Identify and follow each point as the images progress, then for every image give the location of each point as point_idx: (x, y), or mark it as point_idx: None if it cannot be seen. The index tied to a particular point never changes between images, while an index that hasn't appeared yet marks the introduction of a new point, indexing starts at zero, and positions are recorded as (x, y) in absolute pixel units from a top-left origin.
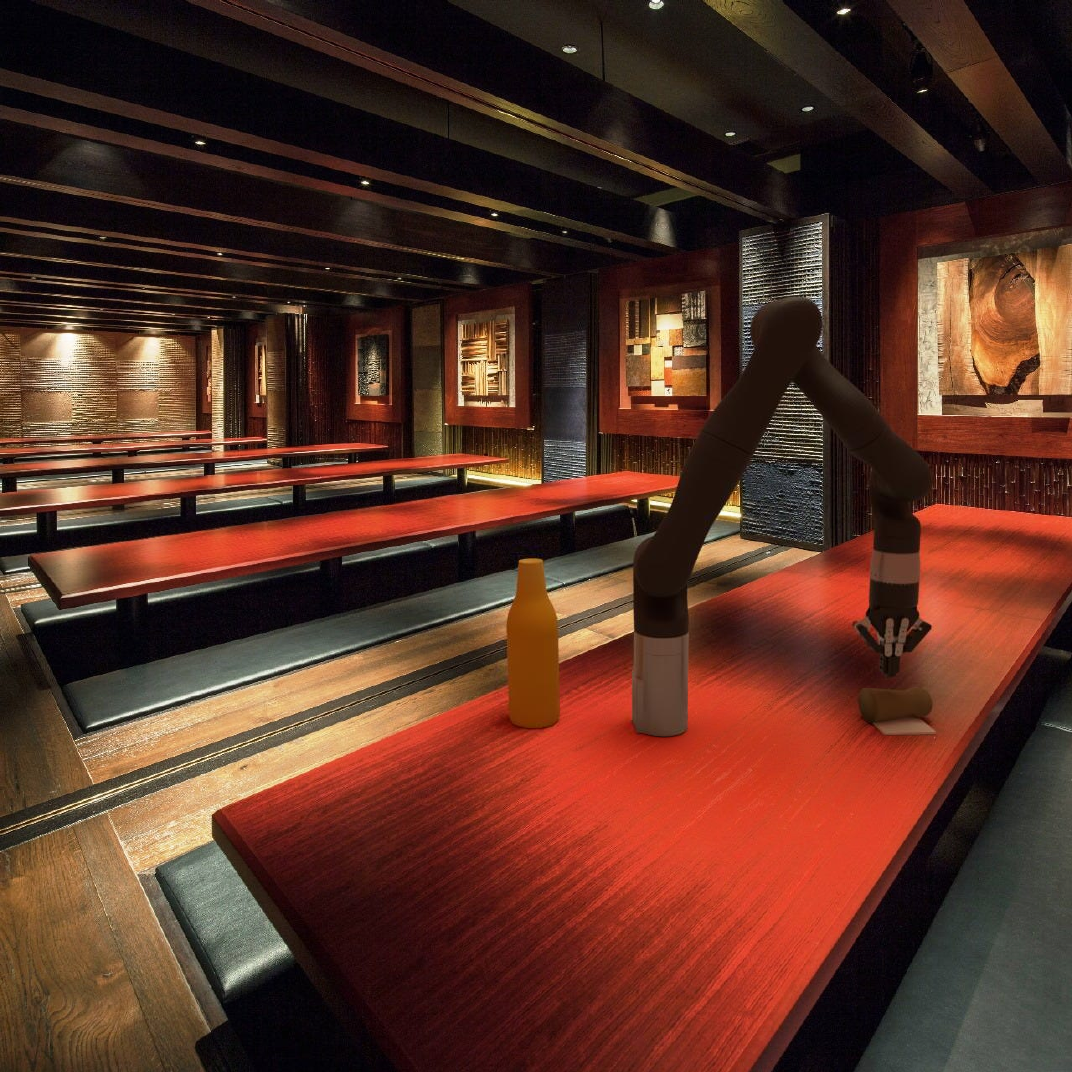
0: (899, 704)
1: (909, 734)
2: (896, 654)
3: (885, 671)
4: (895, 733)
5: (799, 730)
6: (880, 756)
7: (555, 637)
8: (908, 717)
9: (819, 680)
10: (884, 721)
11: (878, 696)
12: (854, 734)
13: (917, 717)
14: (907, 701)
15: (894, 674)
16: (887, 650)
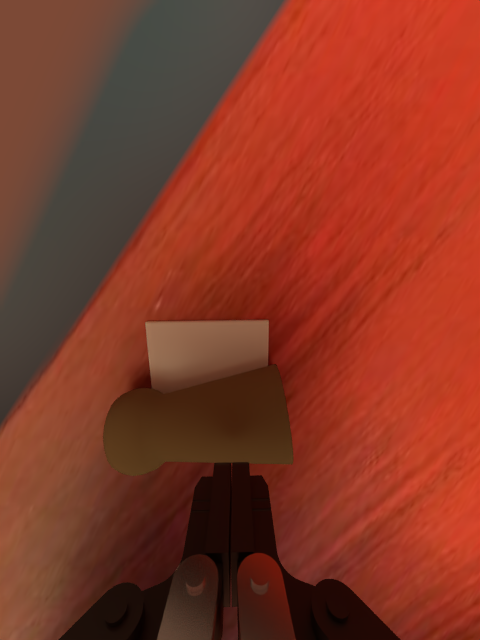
0: (208, 394)
1: (209, 320)
2: (208, 568)
3: (254, 483)
4: (242, 320)
5: (448, 348)
6: (332, 203)
7: None
8: None
9: None
10: None
11: (271, 409)
12: (334, 324)
13: None
14: (180, 406)
15: (220, 467)
16: (269, 601)
